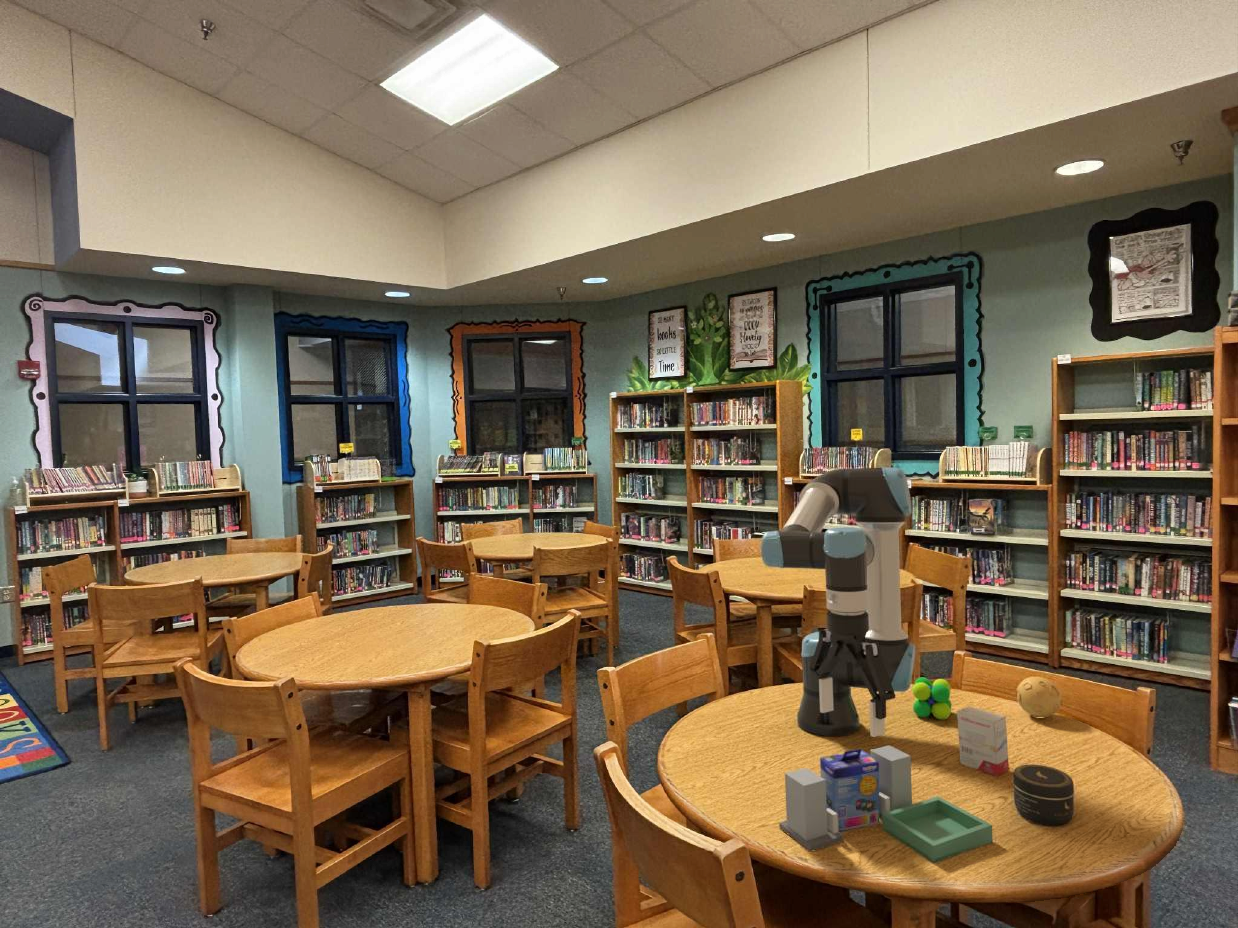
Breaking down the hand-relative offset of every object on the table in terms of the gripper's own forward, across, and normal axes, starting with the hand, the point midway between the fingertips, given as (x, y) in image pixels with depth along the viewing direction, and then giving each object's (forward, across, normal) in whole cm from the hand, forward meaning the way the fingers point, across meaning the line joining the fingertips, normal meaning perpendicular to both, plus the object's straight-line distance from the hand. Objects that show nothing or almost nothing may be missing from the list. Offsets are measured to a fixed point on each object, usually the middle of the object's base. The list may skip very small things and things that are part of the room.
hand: (851, 722), depth 138 cm
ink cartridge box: (+19, 0, -1) cm, 19 cm away
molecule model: (+19, -30, +54) cm, 65 cm away
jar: (+19, +15, +32) cm, 40 cm away
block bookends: (+19, 0, -1) cm, 19 cm away
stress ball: (+19, -16, +75) cm, 79 cm away
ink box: (+19, -4, +40) cm, 44 cm away
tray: (+19, +11, +9) cm, 24 cm away
